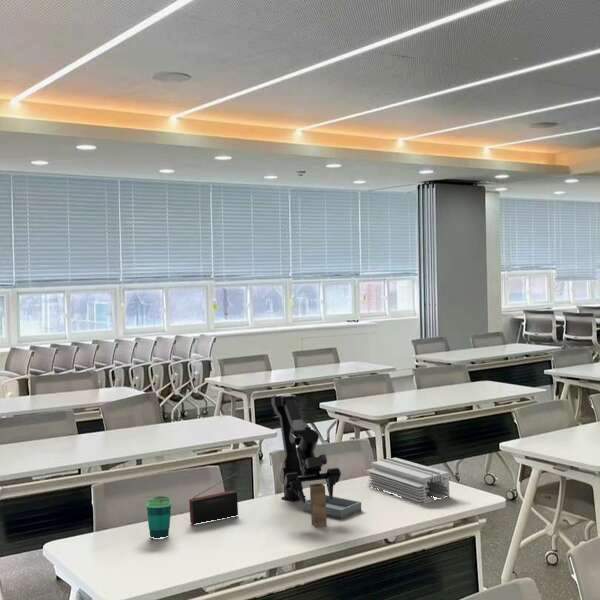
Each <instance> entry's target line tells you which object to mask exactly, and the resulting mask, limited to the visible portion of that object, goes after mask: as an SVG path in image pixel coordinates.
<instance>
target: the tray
mask: <svg viewBox="0 0 600 600" xmlns="http://www.w3.org/2000/svg"><path fill="white" fill-rule="evenodd" d="M325 496H326V517H331V518H336V519H340V520H342V519H345V518H347V517H350V516H352V515H354V513H355V514H357V513H359V512H361V511H362V502H361V501H359V500H353V499H348V498H344V497H339V496H334V495H333V498H332V499H330V496H329V494H325ZM302 505H303V506H302V511H304V512H308V513H311V498H310V499H307V500H306V502H305V503H304V502H303V501H302Z"/></svg>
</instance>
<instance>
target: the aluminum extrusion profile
mask: <svg viewBox="0 0 600 600" xmlns="http://www.w3.org/2000/svg"><path fill="white" fill-rule="evenodd" d="M385 458H386V459H385ZM385 458H380V459H379V460H378V461H373V462H371V467H372V468H370V469H366V474H367V477H368V479H369V480H368V481H367V482H368V483H367V486H369V487H368V488H370V487H371V486H372V487H373V488H374V489H373V488H372V489H373V490H376V489H377V488H378V489H379V490H380V491H379V490H378V489H377V490H376V491H379V492H382V491H383V490H385V491H388V492H391V493H394V494H397V495H398V496H401V497H402V498H403V499H402V498H401V499H402V500H404V499H405V501H407V500H408V501H407V502H411V503H414V504H417V505H419V504H420V505H423V504H422V503H424V504H426V502H428V503H430V502H429V501H432V502H434V501H433V500H434V498H433V496H434V497H437V498H444V497H445V496H447V497H448V496H451V494H450V478H447V477H446V476H450V473H449V472H448V471H445V470H441V469H437V468H433V467H430V466H427V465H423V464H420V463H416V462H412V461H409V460H406V459H402V458H398V457H392V458H391V457H387V456H386V457H385ZM375 488H376V489H375ZM381 490H382V491H381ZM431 496H432V497H431ZM448 498H449V497H448ZM444 499H445V498H444Z"/></svg>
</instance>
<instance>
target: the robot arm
mask: <svg viewBox="0 0 600 600" xmlns="http://www.w3.org/2000/svg"><path fill="white" fill-rule="evenodd" d="M270 402H271V406H272V408H273V410H274V413H275V415H276V416H277V417H278V418H279V424H280V431H281V437H282V443H283V452H284V459H283V461H282V463H281V466H282V467H281V470H280V473H279V481H280V483H281V484H282V485H283V496H281V500H285V501H286V500H287V501H291V502H296V501H298V500H301V501H302V503H303V502H304V503H305V502H306V501H307V500H306V495H305V494H304V488H303V483H305V482H312V481H322V480H325V482H326V488H327V493H328V495H329V496H330V499H332V498H333V496H334V495H333V494H334V486H335V485H336V484H337V483H339V481H340V479H341V475H342V473H341V469H340V468H338V467H331V468H327V469H326V472H323V473H320V472H321V471H322V467H323V465H324V466H325V465H327V464H328V459H327V456H326V453H324V454H319V456H316V454H315V450H316V448H317V445H318V442H319V438H320V435H319V433H318V432H317V431H316V430H315V429H312V428H311V426H309V425H308V423H307V422H305V421H304V420H303V418H302V415H301V413H300V410H299V407H298V404H297V395H295V394H292V393H291V392H290V393H288V392H287V393H277V394H274V395H273V397H271V401H270Z"/></svg>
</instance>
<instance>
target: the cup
mask: <svg viewBox="0 0 600 600" xmlns="http://www.w3.org/2000/svg"><path fill="white" fill-rule="evenodd" d="M172 503H173V502H171V501H170V498H169V497H168V496H162V495H160V496H154V497H151V498H149V499H148V502H147V503H146V504H145V505H146V509H147V521H148V522H147V523H148V530H149V537H150V536H151V537H154V538H160V537H166V536H168V537H169V533H170V524H171V514H172V513H171V508H172ZM151 537H150V538H151Z"/></svg>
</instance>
